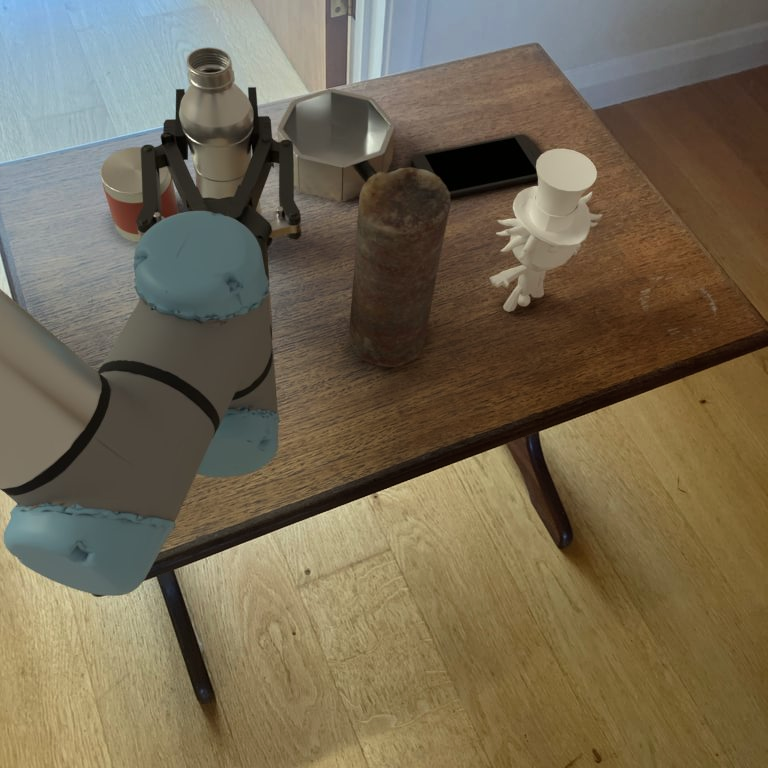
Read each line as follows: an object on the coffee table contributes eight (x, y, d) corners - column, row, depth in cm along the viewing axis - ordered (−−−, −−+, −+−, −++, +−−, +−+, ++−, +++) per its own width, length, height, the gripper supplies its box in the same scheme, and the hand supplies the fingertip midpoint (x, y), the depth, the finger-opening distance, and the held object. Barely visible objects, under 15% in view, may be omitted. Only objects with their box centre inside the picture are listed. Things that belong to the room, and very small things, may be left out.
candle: (425, 377, 78) (453, 229, 61) (348, 375, 77) (355, 225, 61) (422, 314, 82) (448, 159, 65) (349, 311, 82) (356, 155, 65)
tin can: (103, 235, 85) (87, 184, 79) (131, 191, 89) (117, 140, 83) (164, 250, 85) (152, 200, 79) (189, 205, 88) (180, 155, 82)
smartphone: (407, 159, 94) (408, 153, 93) (525, 136, 98) (527, 130, 97) (430, 204, 90) (431, 198, 90) (552, 179, 94) (554, 173, 93)
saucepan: (265, 145, 94) (262, 109, 90) (356, 115, 98) (358, 79, 94) (340, 250, 86) (340, 216, 82) (436, 213, 90) (441, 178, 86)
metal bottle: (220, 198, 87) (195, 27, 70) (275, 222, 86) (264, 53, 69) (185, 237, 84) (151, 67, 67) (242, 262, 82) (222, 95, 66)
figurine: (503, 351, 80) (546, 220, 65) (459, 298, 83) (489, 161, 68) (585, 310, 84) (643, 176, 69) (539, 260, 87) (584, 123, 72)
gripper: (109, 325, 67) (123, 135, 79) (339, 311, 69) (317, 129, 82) (87, 264, 61) (106, 68, 73) (341, 251, 63) (317, 63, 75)
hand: (217, 100), depth 77 cm, fingers closed on metal bottle, 6 cm apart
